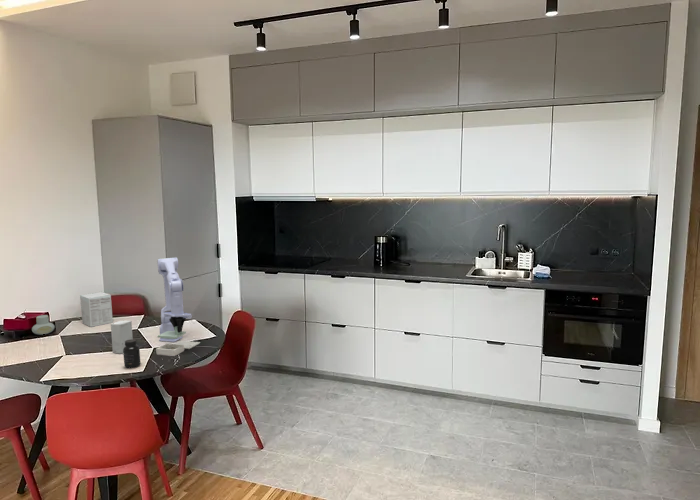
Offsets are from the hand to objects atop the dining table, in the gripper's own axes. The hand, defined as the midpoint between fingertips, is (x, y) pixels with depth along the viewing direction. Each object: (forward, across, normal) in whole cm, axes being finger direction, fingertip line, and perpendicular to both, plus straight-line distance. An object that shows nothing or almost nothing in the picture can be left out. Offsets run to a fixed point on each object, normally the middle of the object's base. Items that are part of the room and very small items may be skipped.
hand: (178, 331), depth 240 cm
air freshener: (+11, -95, +10) cm, 96 cm away
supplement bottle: (+10, -10, -22) cm, 26 cm away
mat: (+10, -4, +10) cm, 15 cm away
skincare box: (+11, -29, -5) cm, 31 cm away
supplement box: (+11, -81, +36) cm, 89 cm away
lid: (+3, -4, 0) cm, 5 cm away
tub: (+10, -4, -2) cm, 11 cm away
